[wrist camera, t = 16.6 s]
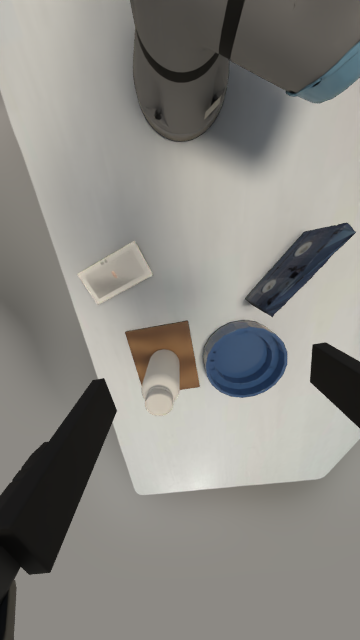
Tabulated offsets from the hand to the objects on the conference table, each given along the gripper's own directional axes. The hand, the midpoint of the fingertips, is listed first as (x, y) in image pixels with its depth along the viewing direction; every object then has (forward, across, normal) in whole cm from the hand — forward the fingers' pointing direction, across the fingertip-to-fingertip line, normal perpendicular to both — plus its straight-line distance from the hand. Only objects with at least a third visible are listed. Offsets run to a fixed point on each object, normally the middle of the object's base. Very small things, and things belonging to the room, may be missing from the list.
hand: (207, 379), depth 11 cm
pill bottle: (+31, -9, -17) cm, 37 cm away
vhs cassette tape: (+32, +21, +1) cm, 38 cm away
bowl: (+32, +11, -19) cm, 39 cm away
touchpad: (+32, -15, +7) cm, 36 cm away
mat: (+32, -9, -17) cm, 37 cm away
